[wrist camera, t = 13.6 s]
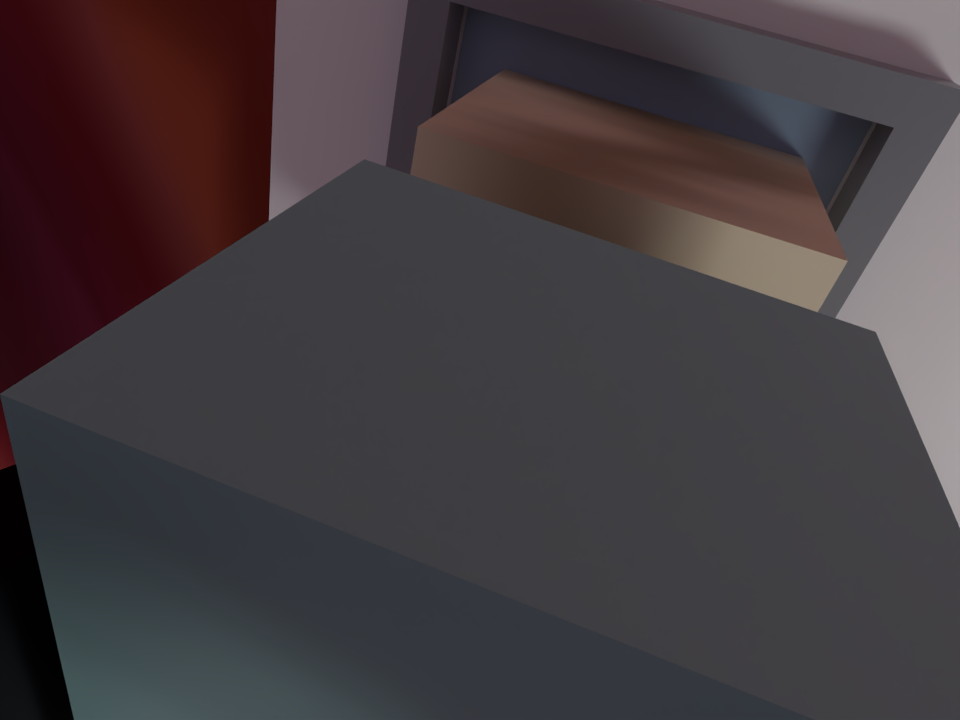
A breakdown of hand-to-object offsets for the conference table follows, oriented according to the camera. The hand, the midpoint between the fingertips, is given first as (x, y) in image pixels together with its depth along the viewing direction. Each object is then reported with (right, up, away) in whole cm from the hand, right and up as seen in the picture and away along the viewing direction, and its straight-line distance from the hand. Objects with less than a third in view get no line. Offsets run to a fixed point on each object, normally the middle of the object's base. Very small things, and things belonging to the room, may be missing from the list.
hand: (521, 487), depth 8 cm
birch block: (+2, +4, +6) cm, 8 cm away
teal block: (0, +1, +1) cm, 1 cm away
